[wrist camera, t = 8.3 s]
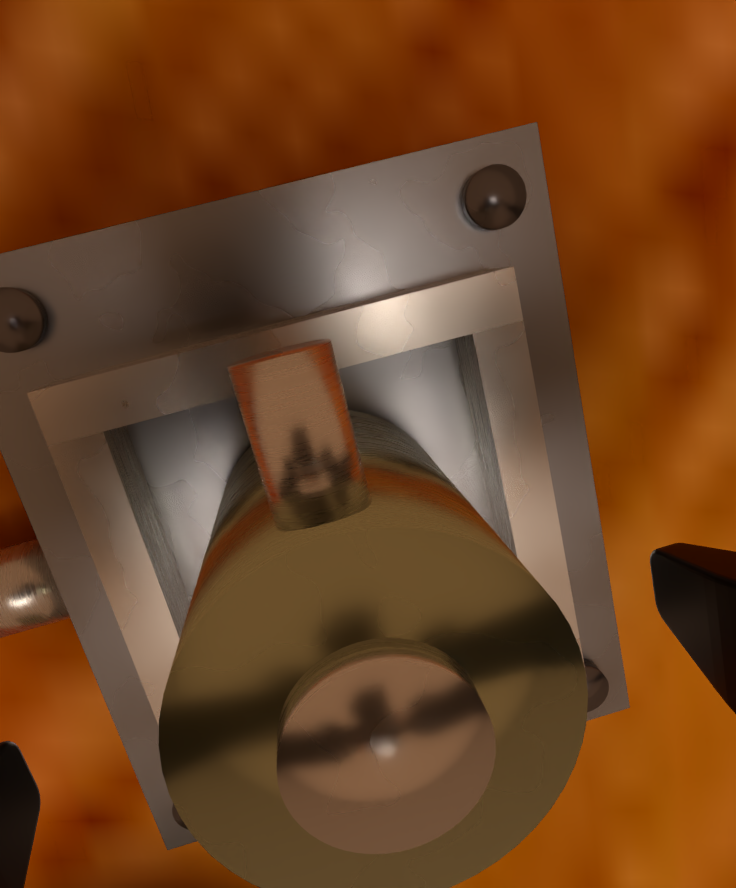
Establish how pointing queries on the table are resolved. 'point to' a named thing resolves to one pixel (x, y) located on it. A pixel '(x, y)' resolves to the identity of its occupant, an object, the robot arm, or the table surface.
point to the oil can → (360, 658)
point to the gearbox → (268, 328)
